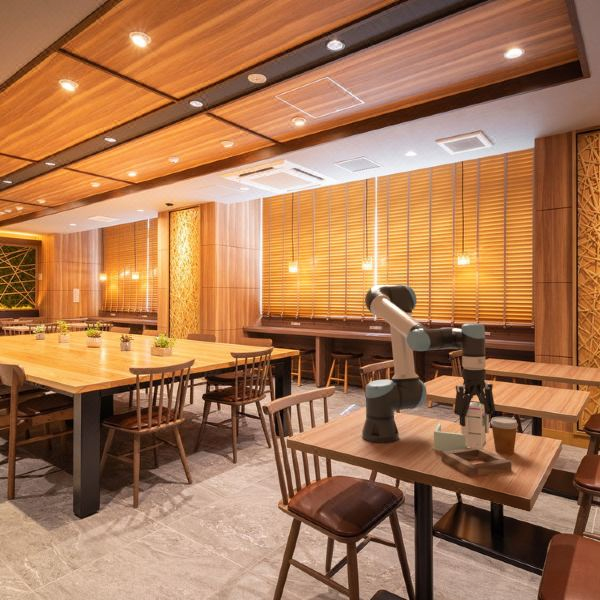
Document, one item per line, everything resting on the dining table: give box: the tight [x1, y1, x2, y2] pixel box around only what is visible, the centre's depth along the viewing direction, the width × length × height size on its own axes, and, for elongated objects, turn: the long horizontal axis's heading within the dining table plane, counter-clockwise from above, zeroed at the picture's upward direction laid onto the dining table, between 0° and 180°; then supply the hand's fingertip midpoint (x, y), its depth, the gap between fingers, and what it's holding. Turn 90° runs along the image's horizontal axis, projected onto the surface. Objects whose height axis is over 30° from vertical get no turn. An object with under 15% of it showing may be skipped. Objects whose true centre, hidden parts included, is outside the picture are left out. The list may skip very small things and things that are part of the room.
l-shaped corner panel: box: [433, 423, 469, 452], centre depth 171 cm, size 12×12×8 cm
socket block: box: [441, 447, 513, 478], centre depth 152 cm, size 16×16×3 cm
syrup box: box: [465, 401, 487, 449], centre depth 152 cm, size 6×6×14 cm
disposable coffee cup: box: [489, 416, 519, 456], centre depth 165 cm, size 10×10×12 cm
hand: (475, 433), depth 152 cm, fingers closed on syrup box, 8 cm apart
